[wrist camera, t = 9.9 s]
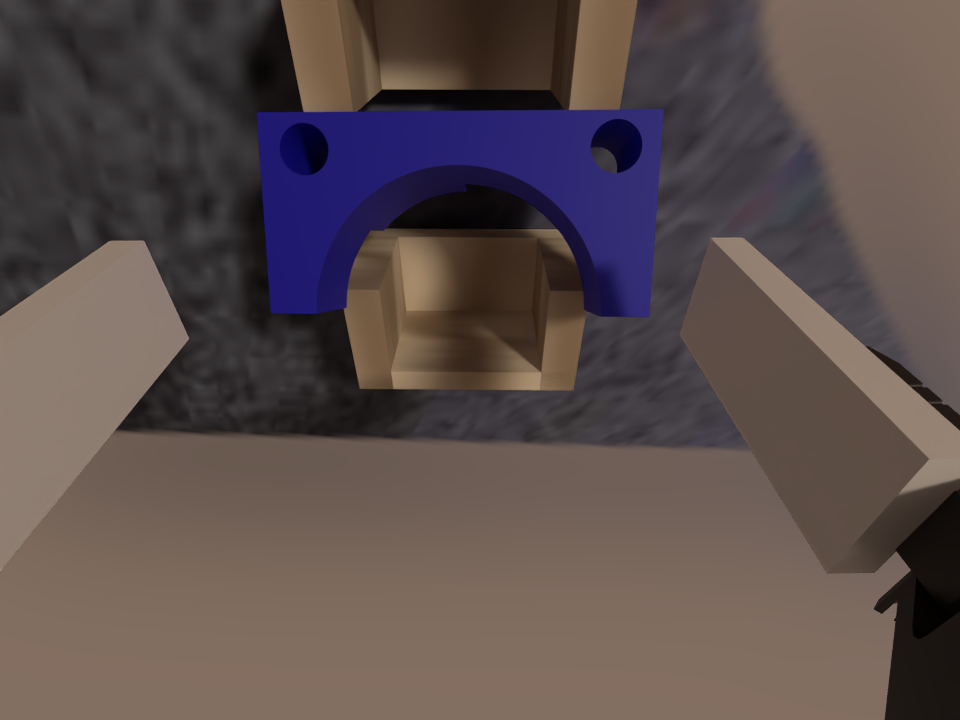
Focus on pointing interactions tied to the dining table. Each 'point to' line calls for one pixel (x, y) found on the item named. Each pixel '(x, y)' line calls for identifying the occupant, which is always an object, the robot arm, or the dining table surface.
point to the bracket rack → (462, 252)
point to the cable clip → (457, 190)
